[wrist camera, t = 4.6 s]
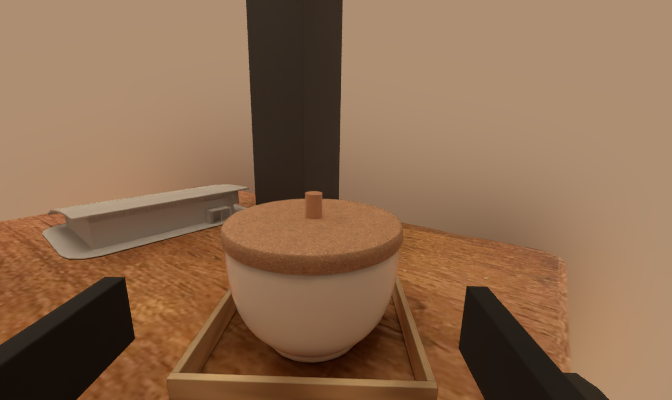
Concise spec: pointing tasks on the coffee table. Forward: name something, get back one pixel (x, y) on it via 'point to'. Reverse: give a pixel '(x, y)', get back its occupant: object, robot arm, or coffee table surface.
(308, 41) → the pedestal
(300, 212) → the trinket box
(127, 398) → the coffee table surface
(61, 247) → the beige covered tray
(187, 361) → the empty wooden frame
